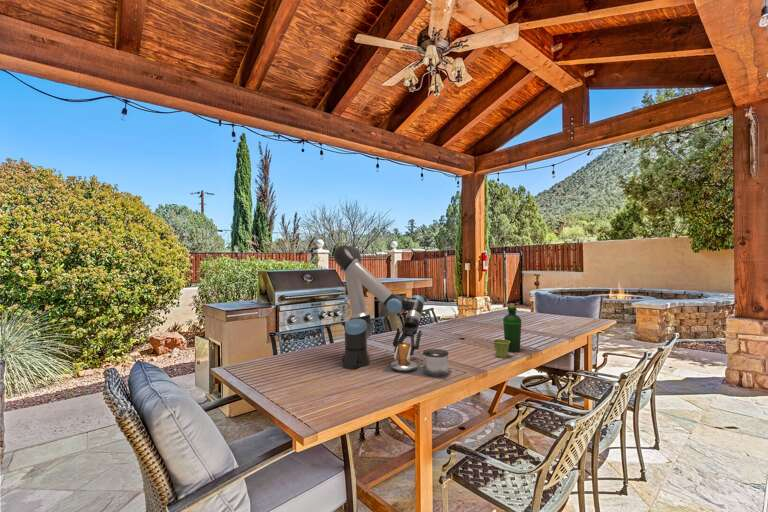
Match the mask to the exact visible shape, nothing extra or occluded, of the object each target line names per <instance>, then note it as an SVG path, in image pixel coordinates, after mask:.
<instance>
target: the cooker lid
mask: <svg viewBox="0 0 768 512" xmlns="http://www.w3.org/2000/svg"><path fill="white" fill-rule="evenodd" d="M410 347H411V344H410V342H409V343H408V342H402V343H399V344H398V358H397V360H394V361H392V362H391V363H390V364H391V367H392V368H393V369H396V370H401V371H409V370H414V369H416V368H417V366H418V363H417V362H415V361H413V360H410V361H409V362H408V361H407V356H408V352H409V348H410Z"/></svg>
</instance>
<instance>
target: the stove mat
mask: <svg viewBox="0 0 768 512" xmlns="http://www.w3.org/2000/svg"><path fill="white" fill-rule="evenodd" d="M381 372H385V373H393V374H398V375H399V374H401V375H408V376H415V377H421V378H422V377H423V378H430V379H431V378H432V379H437V380H438V379H439V380H443V381H444V380H445V381H446V380H447V378H449V376H450V375H451V373H452V372H453V370H451V369H448V375H447V376H445V377H429V376H426V375H424V373H423V366H418V365H417V368H416V369H414V370H409V371H401V370H396V369H393V368H392V367H391V363H390V364H389V365H388V366H386V367H385V368H383V369H382V370H381Z"/></svg>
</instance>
